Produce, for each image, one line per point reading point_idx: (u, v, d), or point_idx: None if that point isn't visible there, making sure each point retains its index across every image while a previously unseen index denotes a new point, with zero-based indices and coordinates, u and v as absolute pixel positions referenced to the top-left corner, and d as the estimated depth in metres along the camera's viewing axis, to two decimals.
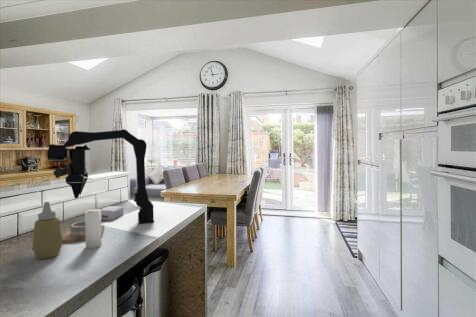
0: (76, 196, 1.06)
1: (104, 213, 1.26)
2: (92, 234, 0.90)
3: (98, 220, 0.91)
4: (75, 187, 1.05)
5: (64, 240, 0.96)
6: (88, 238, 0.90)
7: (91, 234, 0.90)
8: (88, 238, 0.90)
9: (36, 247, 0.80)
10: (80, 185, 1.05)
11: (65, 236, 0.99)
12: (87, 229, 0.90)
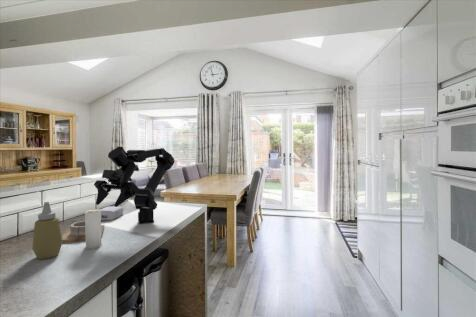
0: (117, 204, 0.98)
1: (104, 213, 1.26)
2: (92, 234, 0.90)
3: (98, 220, 0.91)
4: (123, 196, 1.00)
5: (64, 240, 0.96)
6: (88, 238, 0.90)
7: (90, 234, 0.90)
8: (88, 238, 0.90)
9: (36, 247, 0.80)
10: (128, 196, 1.02)
11: (65, 236, 0.99)
12: (87, 229, 0.90)
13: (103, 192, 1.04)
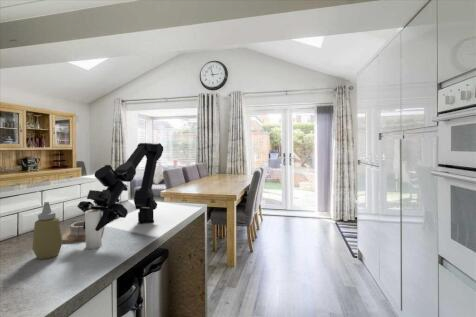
0: (98, 228, 0.91)
1: (102, 214, 1.24)
2: (92, 234, 0.90)
3: (98, 220, 0.91)
4: (105, 218, 0.93)
5: (64, 240, 0.96)
6: (88, 238, 0.90)
7: (90, 234, 0.90)
8: (88, 238, 0.90)
9: (36, 247, 0.80)
10: (111, 219, 0.94)
11: (65, 236, 0.99)
12: (87, 229, 0.90)
13: None
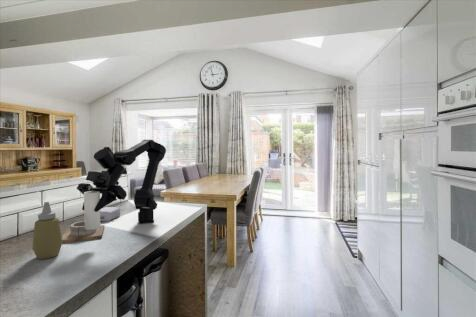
0: (97, 209, 0.91)
1: (100, 214, 1.24)
2: (91, 215, 0.90)
3: (97, 201, 0.91)
4: (104, 200, 0.93)
5: (64, 240, 0.96)
6: (87, 219, 0.90)
7: (89, 215, 0.90)
8: (87, 219, 0.90)
9: (36, 247, 0.80)
10: (110, 201, 0.94)
11: (65, 236, 0.99)
12: (86, 210, 0.90)
13: None
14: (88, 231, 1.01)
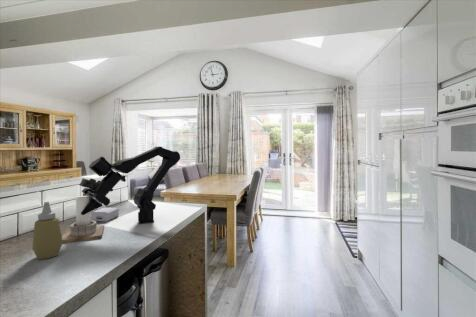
0: (83, 213, 1.01)
1: (99, 214, 1.23)
2: (78, 217, 1.01)
3: (84, 205, 1.02)
4: (91, 205, 1.02)
5: (64, 240, 0.96)
6: (76, 220, 1.02)
7: (78, 217, 1.01)
8: (76, 220, 1.02)
9: (36, 247, 0.80)
10: (97, 206, 1.03)
11: (65, 236, 0.99)
12: (76, 212, 1.02)
13: None
14: (88, 231, 1.01)
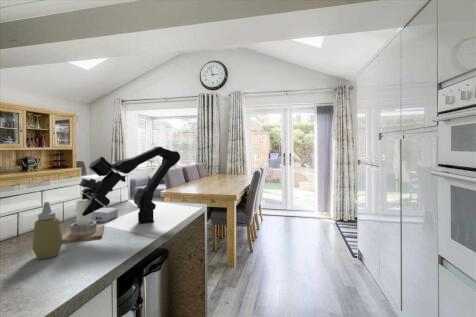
0: (84, 214, 1.00)
1: (98, 215, 1.23)
2: (79, 221, 1.01)
3: (84, 209, 1.02)
4: (92, 206, 1.01)
5: (64, 240, 0.96)
6: (77, 224, 1.02)
7: (78, 221, 1.01)
8: (77, 224, 1.02)
9: (36, 247, 0.80)
10: (98, 207, 1.02)
11: (65, 236, 0.99)
12: (77, 216, 1.02)
13: None
14: (88, 231, 1.01)
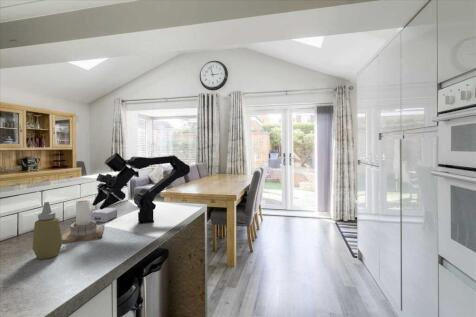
0: (102, 207, 1.04)
1: (97, 215, 1.22)
2: (78, 221, 1.01)
3: (84, 209, 1.02)
4: (109, 200, 1.05)
5: (64, 240, 0.96)
6: None
7: (78, 221, 1.01)
8: (77, 224, 1.02)
9: (36, 247, 0.80)
10: (114, 201, 1.06)
11: (65, 236, 0.99)
12: (76, 216, 1.02)
13: (102, 194, 1.13)
14: (88, 231, 1.01)
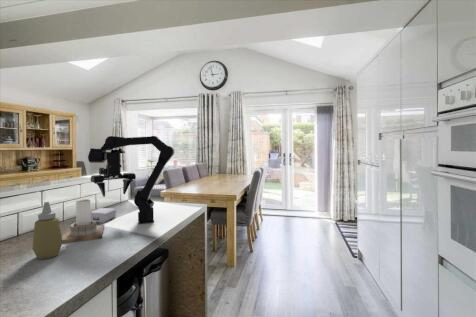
0: (103, 195, 1.17)
1: (95, 215, 1.21)
2: (78, 221, 1.01)
3: (84, 209, 1.02)
4: (101, 186, 1.16)
5: (64, 240, 0.96)
6: None
7: (78, 221, 1.01)
8: (77, 224, 1.02)
9: (36, 247, 0.80)
10: (100, 185, 1.15)
11: (65, 236, 0.99)
12: (76, 216, 1.02)
13: (124, 182, 1.24)
14: (88, 231, 1.01)
